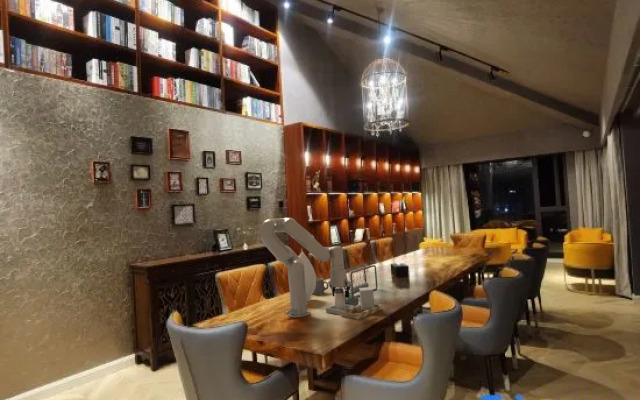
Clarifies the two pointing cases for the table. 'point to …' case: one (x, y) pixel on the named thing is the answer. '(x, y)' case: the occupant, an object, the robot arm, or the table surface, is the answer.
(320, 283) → the coffee mug
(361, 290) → the supplement box
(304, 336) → the table surface
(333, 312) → the frame
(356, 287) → the newton's cradle
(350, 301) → the grey square holder
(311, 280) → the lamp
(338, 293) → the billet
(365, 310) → the wooden frame with crossbar
